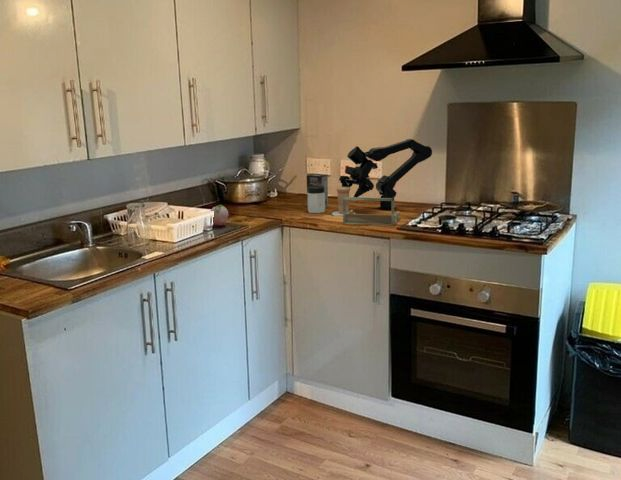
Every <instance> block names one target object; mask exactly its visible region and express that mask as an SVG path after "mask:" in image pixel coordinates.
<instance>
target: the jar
mask: <svg viewBox="0 0 621 480" xmlns="http://www.w3.org/2000/svg"><path fill="white" fill-rule="evenodd" d="M307 190H308V207H307V211H308V213H309V214H321V213H322V214H323V213H325V212H326V207H325V193H324V190H325V189H324V186H309V187H307V186H306V191H307Z"/></svg>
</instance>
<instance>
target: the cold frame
mask: <svg viewBox="0 0 621 480" xmlns="http://www.w3.org/2000/svg"><path fill="white" fill-rule="evenodd" d="M346 200H349V201H377V202H378V201H379V202H380V201H391V209H390V210H391V214H368V213H367V214H365V213H355V214H354V212H355V211H354V209H350V210H349V212H348V213H346ZM394 207H395V197H394V198H381V197H364V196H363V197H362V196H359V197H354V196H349V197H343V216H342V224H345V225H346V224H347V225H368V226H393V227H394V226H395V225H396V224H397V222H399V220H400V219H401V211H399V210H397V211H396V212H395V208H394Z"/></svg>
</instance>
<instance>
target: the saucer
mask: <svg viewBox="0 0 621 480" xmlns="http://www.w3.org/2000/svg"><path fill="white" fill-rule="evenodd" d="M354 214H356V212H355V211H354ZM331 216H333V217H338V216H342V217H343V214H339V213H338V210H337V211H333V212H331Z"/></svg>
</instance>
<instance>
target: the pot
mask: <svg viewBox="0 0 621 480" xmlns="http://www.w3.org/2000/svg"><path fill="white" fill-rule="evenodd" d="M350 191H351V187H342V186H337V187H336V192H337V204H338V206H337V207H338V210H337V211H338V213H339V214H343V197H350ZM349 204H350V200H346V213H348V212H349V211H350V210H349V209H350V206H349Z"/></svg>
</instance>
